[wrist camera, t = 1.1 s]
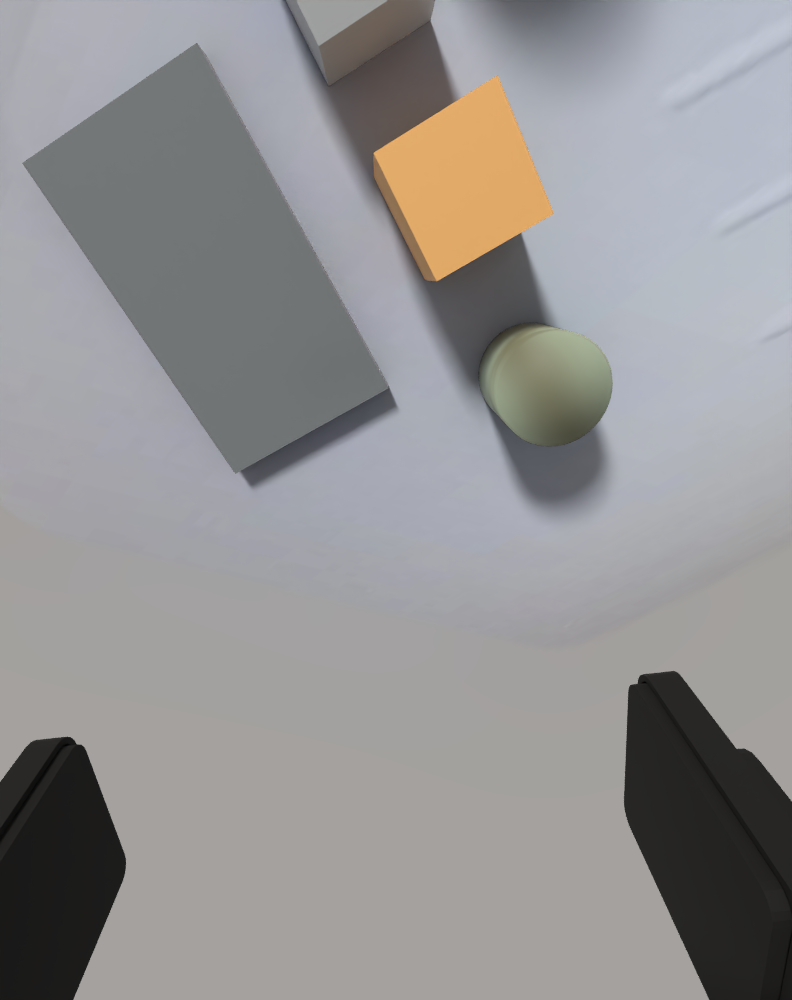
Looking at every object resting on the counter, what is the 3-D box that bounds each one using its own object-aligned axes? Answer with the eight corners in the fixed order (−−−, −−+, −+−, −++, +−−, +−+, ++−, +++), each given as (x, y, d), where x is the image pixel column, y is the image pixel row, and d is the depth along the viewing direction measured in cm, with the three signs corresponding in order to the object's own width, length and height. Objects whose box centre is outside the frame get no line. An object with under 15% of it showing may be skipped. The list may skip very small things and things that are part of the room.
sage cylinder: (552, 303, 29) (585, 308, 25) (590, 392, 31) (629, 412, 26) (461, 354, 30) (478, 368, 25) (504, 438, 32) (527, 465, 27)
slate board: (204, 53, 25) (196, 42, 24) (387, 384, 30) (388, 388, 29) (37, 167, 27) (22, 163, 25) (240, 466, 32) (235, 473, 31)
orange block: (472, 117, 26) (497, 75, 21) (518, 225, 28) (554, 213, 23) (374, 177, 27) (373, 152, 22) (425, 280, 29) (436, 281, 23)
